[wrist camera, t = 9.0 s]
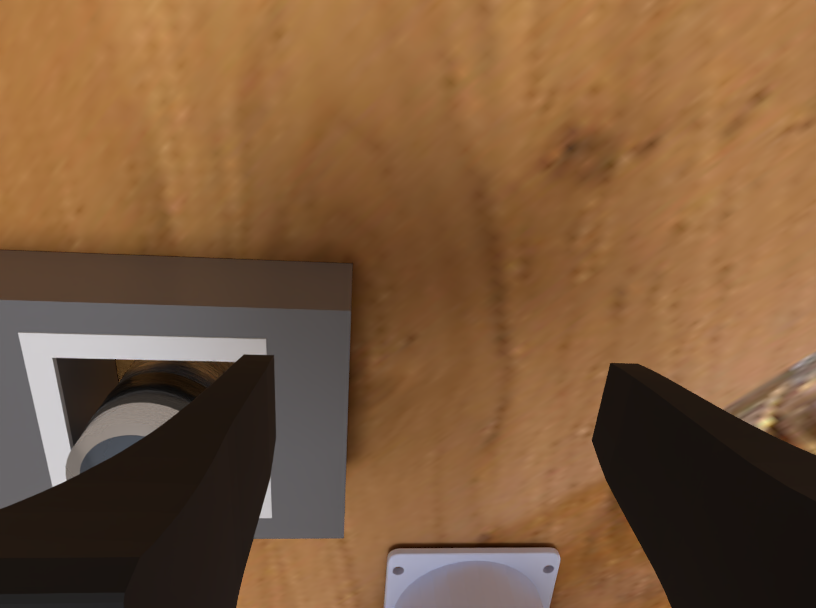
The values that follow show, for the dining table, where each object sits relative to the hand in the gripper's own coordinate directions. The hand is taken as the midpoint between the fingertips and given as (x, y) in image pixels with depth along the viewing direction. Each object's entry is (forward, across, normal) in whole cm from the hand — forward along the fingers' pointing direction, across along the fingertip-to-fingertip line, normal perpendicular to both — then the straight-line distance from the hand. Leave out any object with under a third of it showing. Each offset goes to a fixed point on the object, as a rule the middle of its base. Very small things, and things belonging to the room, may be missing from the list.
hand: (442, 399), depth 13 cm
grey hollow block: (+9, +8, +5) cm, 13 cm away
